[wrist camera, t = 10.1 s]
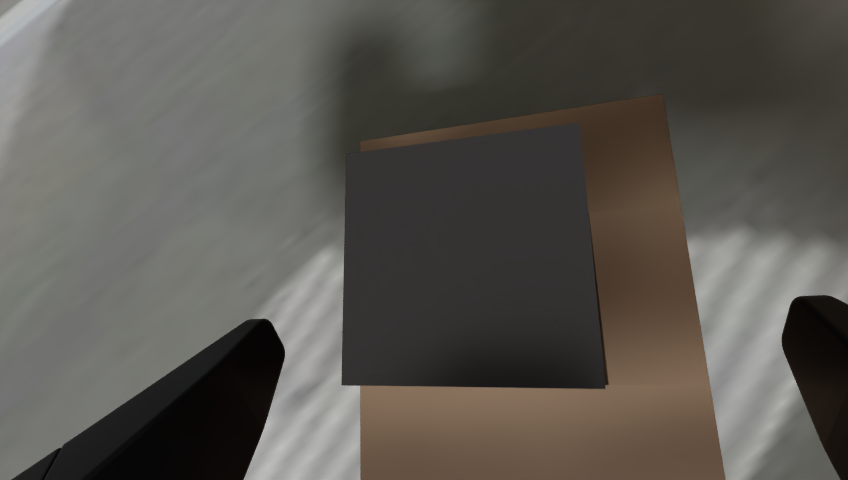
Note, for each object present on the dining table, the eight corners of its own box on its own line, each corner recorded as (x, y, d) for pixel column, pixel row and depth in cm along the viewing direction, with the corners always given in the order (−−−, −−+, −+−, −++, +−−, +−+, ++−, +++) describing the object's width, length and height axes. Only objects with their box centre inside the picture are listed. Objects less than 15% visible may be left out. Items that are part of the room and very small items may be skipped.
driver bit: (567, 348, 17) (605, 389, 5) (482, 349, 17) (341, 385, 6) (560, 264, 17) (579, 122, 6) (478, 268, 18) (346, 153, 6)
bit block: (730, 778, 13) (802, 958, 9) (406, 714, 16) (360, 835, 12) (638, 145, 17) (663, 93, 14) (396, 177, 20) (359, 141, 16)
